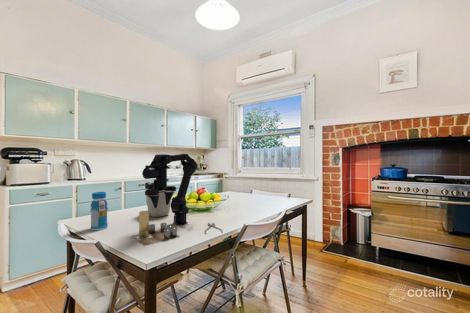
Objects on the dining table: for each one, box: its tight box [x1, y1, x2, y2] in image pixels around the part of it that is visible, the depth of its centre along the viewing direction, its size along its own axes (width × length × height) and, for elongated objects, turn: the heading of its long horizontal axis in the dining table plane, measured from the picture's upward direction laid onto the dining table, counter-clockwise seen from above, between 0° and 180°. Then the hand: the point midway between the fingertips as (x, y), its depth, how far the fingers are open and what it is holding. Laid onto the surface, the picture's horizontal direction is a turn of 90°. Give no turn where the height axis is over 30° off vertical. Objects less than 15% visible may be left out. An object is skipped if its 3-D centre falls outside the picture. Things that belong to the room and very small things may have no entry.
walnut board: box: [132, 229, 181, 247], centre depth 113 cm, size 18×17×1 cm
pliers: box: [204, 222, 224, 235], centre depth 129 cm, size 10×1×20 cm
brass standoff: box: [138, 210, 150, 238], centre depth 112 cm, size 4×4×12 cm
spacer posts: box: [149, 222, 178, 241], centre depth 116 cm, size 9×16×4 cm, turn 40°
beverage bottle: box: [89, 191, 109, 231], centre depth 130 cm, size 8×8×20 cm
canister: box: [145, 192, 172, 218], centre depth 159 cm, size 18×18×21 cm
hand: (161, 206), depth 126 cm, fingers open, 9 cm apart
